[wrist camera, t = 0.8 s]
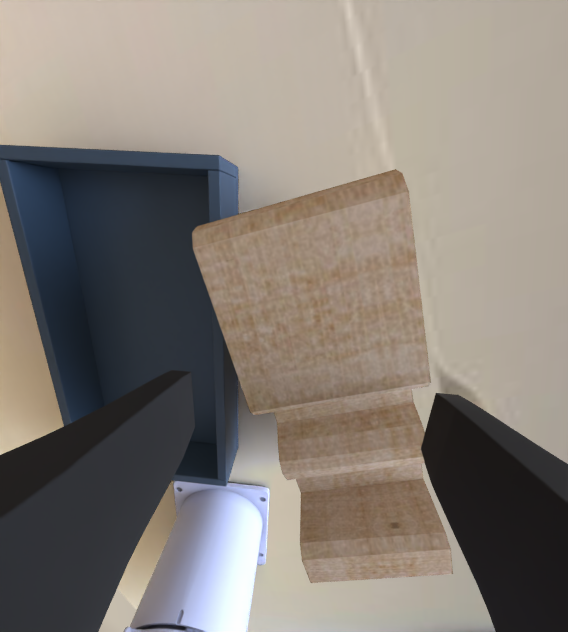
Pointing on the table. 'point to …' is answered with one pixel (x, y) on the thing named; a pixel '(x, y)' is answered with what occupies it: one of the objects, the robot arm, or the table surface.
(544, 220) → the table surface
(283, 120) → the table surface
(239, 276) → the toy train
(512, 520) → the robot arm
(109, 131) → the table surface
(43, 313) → the open box
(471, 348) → the table surface
